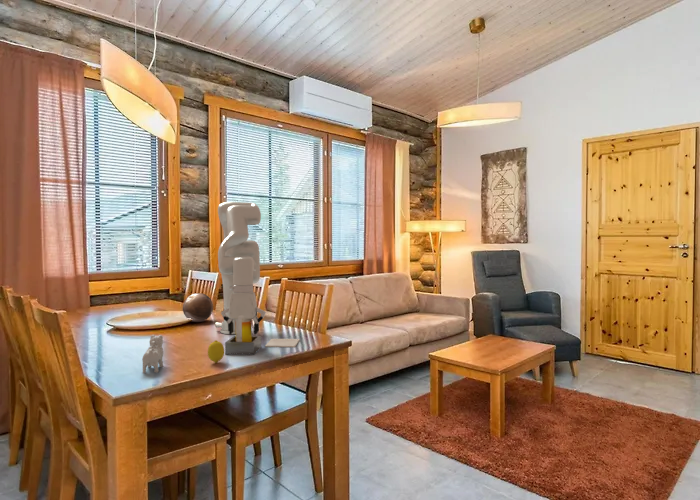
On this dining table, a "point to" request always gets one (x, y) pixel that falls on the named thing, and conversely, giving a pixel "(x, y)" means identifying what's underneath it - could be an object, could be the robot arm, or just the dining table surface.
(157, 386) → the dining table surface
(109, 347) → the dining table surface
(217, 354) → the lemon
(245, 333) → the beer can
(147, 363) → the white dog figurine
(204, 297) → the wooden sphere
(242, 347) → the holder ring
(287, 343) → the tile pad
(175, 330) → the dining table surface
